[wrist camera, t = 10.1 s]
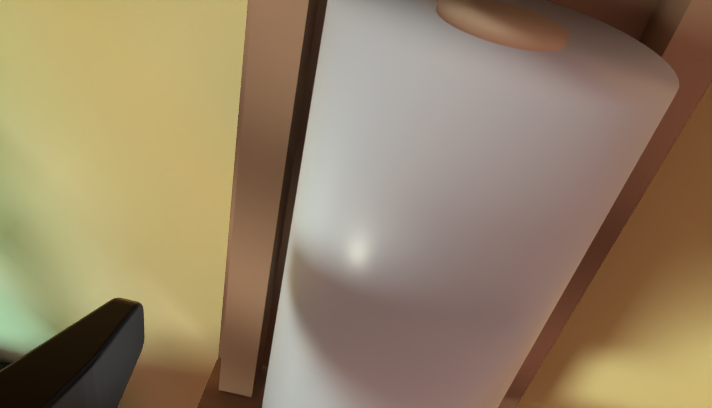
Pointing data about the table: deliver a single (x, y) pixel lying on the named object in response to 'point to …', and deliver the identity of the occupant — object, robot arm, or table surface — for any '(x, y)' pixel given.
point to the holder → (285, 150)
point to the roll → (450, 194)
